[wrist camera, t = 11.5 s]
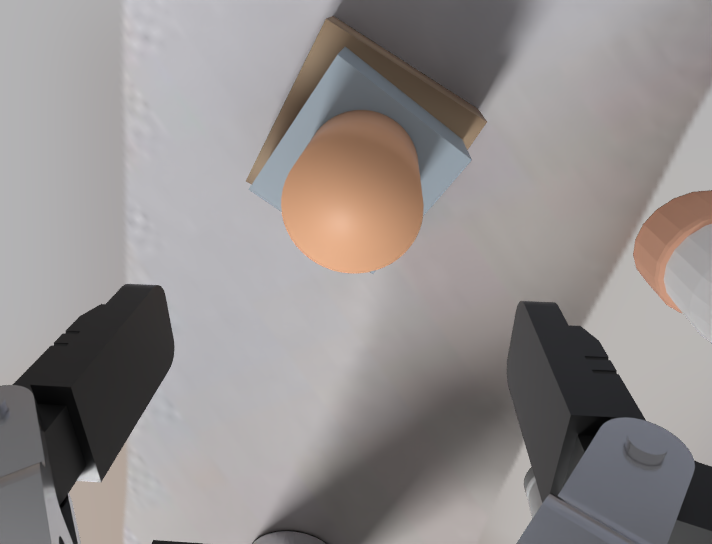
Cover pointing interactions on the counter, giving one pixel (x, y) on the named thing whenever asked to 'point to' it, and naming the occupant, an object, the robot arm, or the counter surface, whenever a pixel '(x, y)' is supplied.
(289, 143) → the slate top block
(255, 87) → the counter surface
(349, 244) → the terracotta drum
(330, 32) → the walnut base block
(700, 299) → the salt shaker
